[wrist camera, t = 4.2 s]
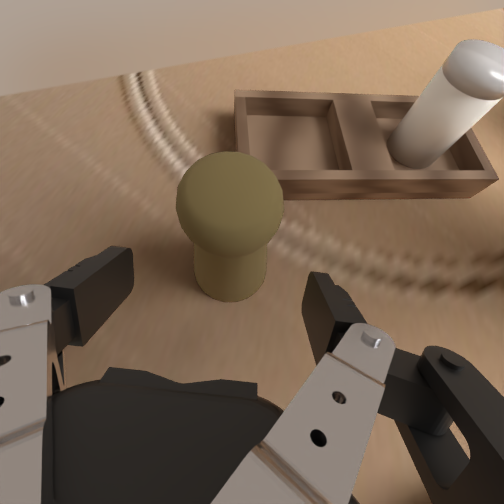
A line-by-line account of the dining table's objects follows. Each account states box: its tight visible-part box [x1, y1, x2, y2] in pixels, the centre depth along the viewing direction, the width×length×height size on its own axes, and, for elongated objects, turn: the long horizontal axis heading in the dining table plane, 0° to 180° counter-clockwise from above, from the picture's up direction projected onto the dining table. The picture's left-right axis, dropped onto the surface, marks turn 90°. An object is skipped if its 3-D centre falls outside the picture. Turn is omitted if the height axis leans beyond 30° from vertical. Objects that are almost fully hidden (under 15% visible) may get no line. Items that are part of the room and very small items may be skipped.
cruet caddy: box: [234, 90, 499, 200], centre depth 25 cm, size 24×11×3 cm, turn 94°
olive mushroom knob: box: [176, 151, 284, 302], centre depth 16 cm, size 6×6×11 cm
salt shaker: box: [387, 40, 504, 169], centre depth 22 cm, size 5×5×9 cm
